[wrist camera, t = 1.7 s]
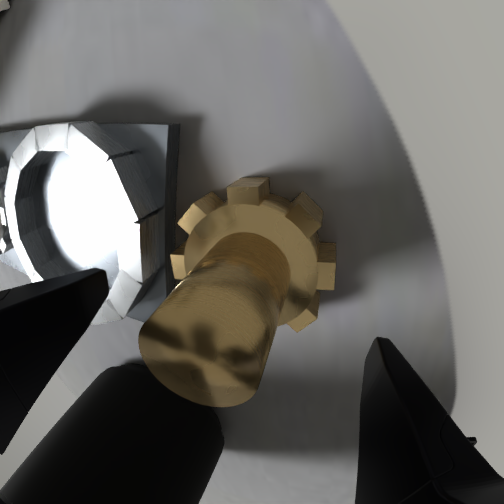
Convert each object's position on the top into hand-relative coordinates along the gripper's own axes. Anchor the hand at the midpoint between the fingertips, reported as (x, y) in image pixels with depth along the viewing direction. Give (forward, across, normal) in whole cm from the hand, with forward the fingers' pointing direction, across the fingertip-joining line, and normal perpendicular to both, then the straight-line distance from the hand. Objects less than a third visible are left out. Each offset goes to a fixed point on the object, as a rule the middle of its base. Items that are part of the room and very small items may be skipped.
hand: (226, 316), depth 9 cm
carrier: (+5, +14, 0) cm, 14 cm away
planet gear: (+5, 0, 0) cm, 5 cm away
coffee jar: (+5, +6, +14) cm, 16 cm away
